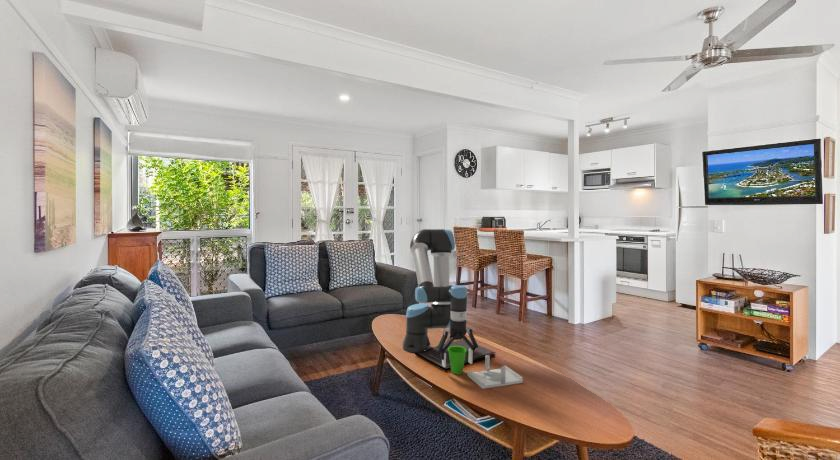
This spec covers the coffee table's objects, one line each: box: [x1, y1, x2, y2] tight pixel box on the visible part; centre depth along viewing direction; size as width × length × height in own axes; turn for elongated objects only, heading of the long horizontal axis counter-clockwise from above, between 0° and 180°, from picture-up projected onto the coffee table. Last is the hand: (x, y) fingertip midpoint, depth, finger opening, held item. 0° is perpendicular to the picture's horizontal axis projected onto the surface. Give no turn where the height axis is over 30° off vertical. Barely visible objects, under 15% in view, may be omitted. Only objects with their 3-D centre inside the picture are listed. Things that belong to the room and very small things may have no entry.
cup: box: [447, 345, 468, 375], centre depth 188 cm, size 9×9×11 cm
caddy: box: [467, 354, 524, 390], centre depth 181 cm, size 16×20×8 cm
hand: (457, 364), depth 188 cm, fingers open, 13 cm apart
